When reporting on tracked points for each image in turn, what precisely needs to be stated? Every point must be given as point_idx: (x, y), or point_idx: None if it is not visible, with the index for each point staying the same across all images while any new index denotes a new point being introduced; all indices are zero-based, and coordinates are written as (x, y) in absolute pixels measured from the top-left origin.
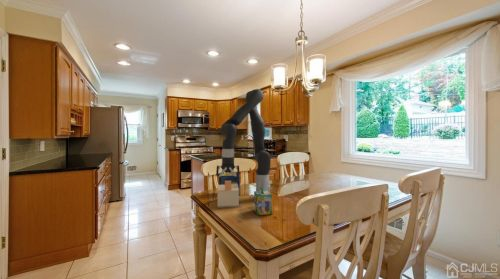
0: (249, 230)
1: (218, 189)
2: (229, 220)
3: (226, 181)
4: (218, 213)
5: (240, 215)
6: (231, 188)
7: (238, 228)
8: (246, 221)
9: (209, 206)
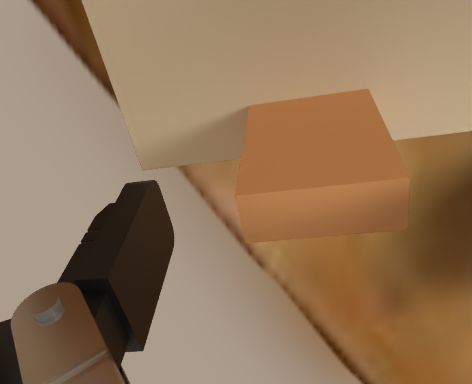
0: (438, 377)
1: (135, 104)
2: (330, 291)
3: (283, 238)
4: (234, 196)
5: (413, 227)
6: (371, 20)
7: (382, 362)
8: (442, 303)
9: (94, 37)
